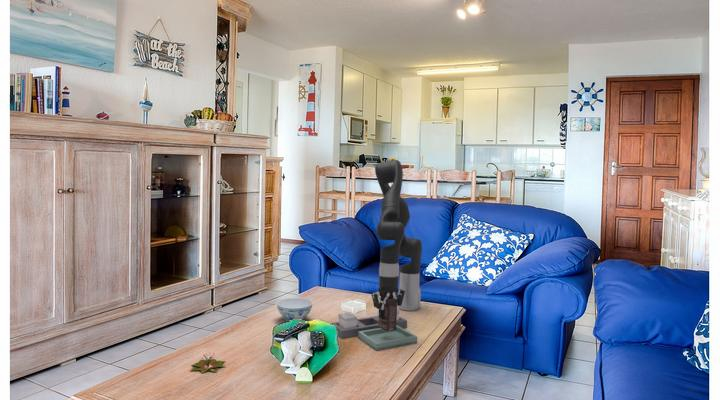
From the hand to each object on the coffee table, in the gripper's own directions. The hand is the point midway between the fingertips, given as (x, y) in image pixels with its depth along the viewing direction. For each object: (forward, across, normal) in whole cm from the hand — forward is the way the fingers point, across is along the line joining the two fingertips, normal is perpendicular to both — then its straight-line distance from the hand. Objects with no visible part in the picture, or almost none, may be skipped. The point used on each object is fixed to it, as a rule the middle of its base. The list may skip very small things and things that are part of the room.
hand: (387, 317), depth 184 cm
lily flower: (+10, +66, -4) cm, 67 cm away
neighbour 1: (+9, +10, -14) cm, 19 cm away
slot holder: (+9, 0, -14) cm, 17 cm away
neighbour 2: (+9, -10, -14) cm, 19 cm away
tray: (+9, 0, 0) cm, 9 cm away
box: (+5, 0, 0) cm, 5 cm away
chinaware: (+9, +24, -36) cm, 44 cm away
